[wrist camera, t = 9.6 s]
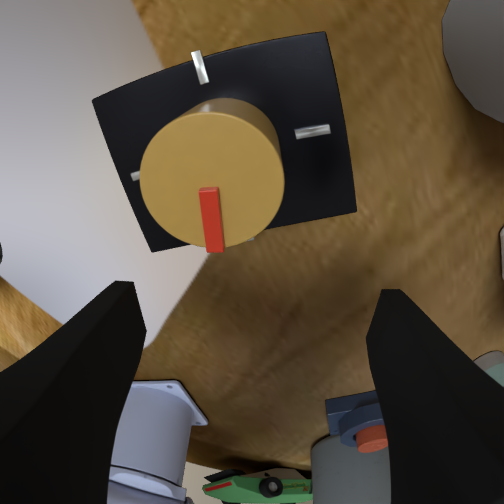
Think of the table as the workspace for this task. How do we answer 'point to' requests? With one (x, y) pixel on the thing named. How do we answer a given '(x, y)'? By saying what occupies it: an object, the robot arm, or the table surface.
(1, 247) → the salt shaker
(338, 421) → the button block
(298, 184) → the dial panel
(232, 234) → the pointer wheel
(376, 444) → the button
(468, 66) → the cup
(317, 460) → the water bottle
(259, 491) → the toy car
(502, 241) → the jar
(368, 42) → the table surface
